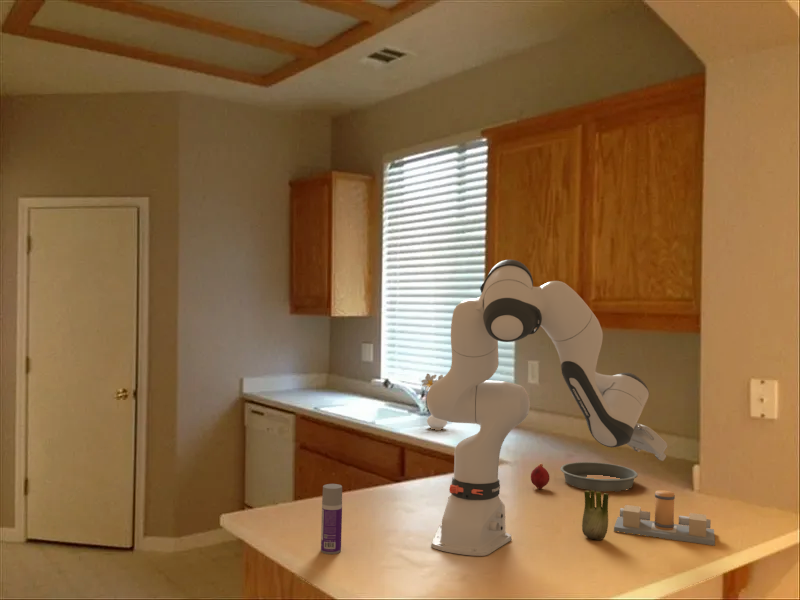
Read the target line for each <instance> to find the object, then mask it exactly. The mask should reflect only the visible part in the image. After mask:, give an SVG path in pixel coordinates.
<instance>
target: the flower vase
mask: <svg viewBox="0 0 800 600" xmlns="http://www.w3.org/2000/svg"><path fill="white" fill-rule="evenodd" d="M443 377H444V375H443V374H440V375H439V376H438V377H437V374H434V375H431V374H430V373H426V375H425V377H424V379H422V380H421V387H423V388H424V387H425V391H429V389H430V387H431V386H432V385H433V383H435V382H436V381H438V380H440V379H441V378H443ZM436 378H437V379H436ZM426 422H427V423H426V424H427V425H428V426H429V427H430V428H431V429H430V428H429V429H430V430H432V429H435V430H434V431H442V430H441V429H443V430H444V428H445V427H446V426H447V425H448V421H444V420H441V419H437V418H434V417H433V416H432V414H431V413H430V416H428V417H427V420H426Z"/></svg>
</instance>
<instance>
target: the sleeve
mask: <svg viewBox="0 0 800 600" xmlns="http://www.w3.org/2000/svg"><path fill="white" fill-rule="evenodd" d="M654 497H655V498H654V499H655V500H654V501H655V502H654V505H655V506H654V524H655V527H656V528H658V529H662V530H673V529H674V524H675V522H674V521H675V499H676V498H675V493H674V492H673V491H670V490H663V489H661V490H659V489H658V490H655V493H654Z"/></svg>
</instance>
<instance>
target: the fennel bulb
mask: <svg viewBox="0 0 800 600" xmlns="http://www.w3.org/2000/svg"><path fill="white" fill-rule="evenodd" d="M581 521H582V522H581V527H582V528H581V529H582V533H583V535H584V536H585V537H586V538H588V539H590V540H591V539H592V540H595V541H600V540H603V539H605V537H606V535H607V533H608V530H609V529H608V527H609V493H607V492H606V493H605V492H604V493H603V496H602V491H594V490H584V509H583V515H582V520H581Z"/></svg>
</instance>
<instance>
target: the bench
mask: <svg viewBox="0 0 800 600" xmlns="http://www.w3.org/2000/svg"><path fill="white" fill-rule="evenodd" d="M654 521H655V520H654ZM654 521H652V520H651V511H645V510H642V507H641V506H638V505H637V506H636V505H631V504H629V505H628V504H625V505H624V508H623V507H620V508H619V516H617V518H616V521H615V524H614V526H613V532H614V531H619V532H618V533H620V532H625V533H624V534H628V533H633V534H632V535H635V534H640V535H639V536H642V535H646V536H645V537H649V536H653V537H652V538H656V537H659V538H658V539H664V538H665V540H671V539H672V540H673V541H677V542H678V541H680V542H685V543H686V542H687V543H695V544H701V545H708V546H715V545H716V540H715V539H716V538H715V529H714V528H711V521H712V520H711V519H708V518H707V514H702V513H695V512H689V515H688V516H685V515H678V524H676V523H674V529H673V530H662V529H658V528H656V527H655V524H654Z"/></svg>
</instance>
